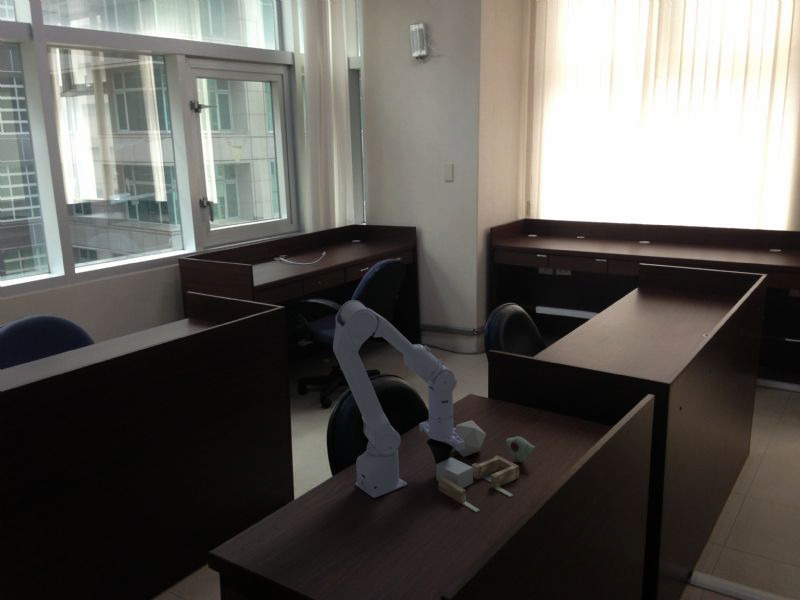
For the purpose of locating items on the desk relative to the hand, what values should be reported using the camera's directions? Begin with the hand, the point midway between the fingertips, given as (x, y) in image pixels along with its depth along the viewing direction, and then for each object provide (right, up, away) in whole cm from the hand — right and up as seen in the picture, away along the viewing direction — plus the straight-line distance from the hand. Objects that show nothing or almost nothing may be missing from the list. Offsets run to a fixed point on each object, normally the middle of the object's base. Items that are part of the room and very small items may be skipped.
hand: (441, 467), depth 163 cm
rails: (+9, -4, -12) cm, 16 cm away
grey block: (+3, -2, -4) cm, 5 cm away
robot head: (+19, 0, +4) cm, 20 cm away
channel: (+8, -2, -5) cm, 10 cm away
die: (+7, +1, +11) cm, 13 cm away
